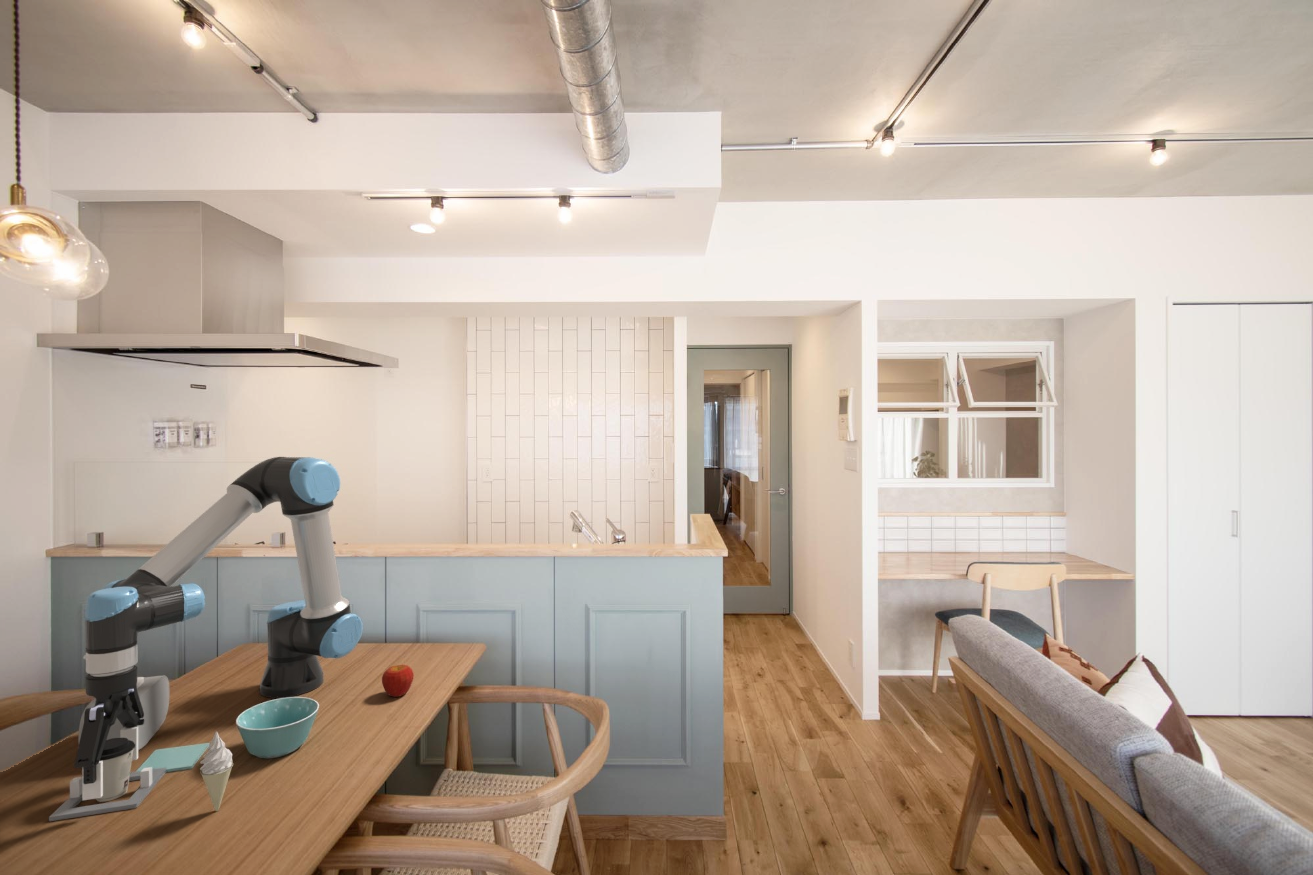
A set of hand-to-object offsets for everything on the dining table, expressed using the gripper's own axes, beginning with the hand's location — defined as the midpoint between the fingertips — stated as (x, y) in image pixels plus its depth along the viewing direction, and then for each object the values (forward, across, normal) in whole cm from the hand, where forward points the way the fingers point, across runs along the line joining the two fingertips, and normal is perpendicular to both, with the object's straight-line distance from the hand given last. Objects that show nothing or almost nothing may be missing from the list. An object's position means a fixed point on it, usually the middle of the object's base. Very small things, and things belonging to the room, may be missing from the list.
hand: (112, 778), depth 119 cm
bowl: (+4, -10, +26) cm, 28 cm away
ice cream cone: (+3, +12, +21) cm, 24 cm away
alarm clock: (+4, -23, -7) cm, 24 cm away
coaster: (+3, -11, +6) cm, 13 cm away
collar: (+3, 0, 0) cm, 3 cm away
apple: (+4, -32, +49) cm, 59 cm away
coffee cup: (+3, 0, 0) cm, 3 cm away
